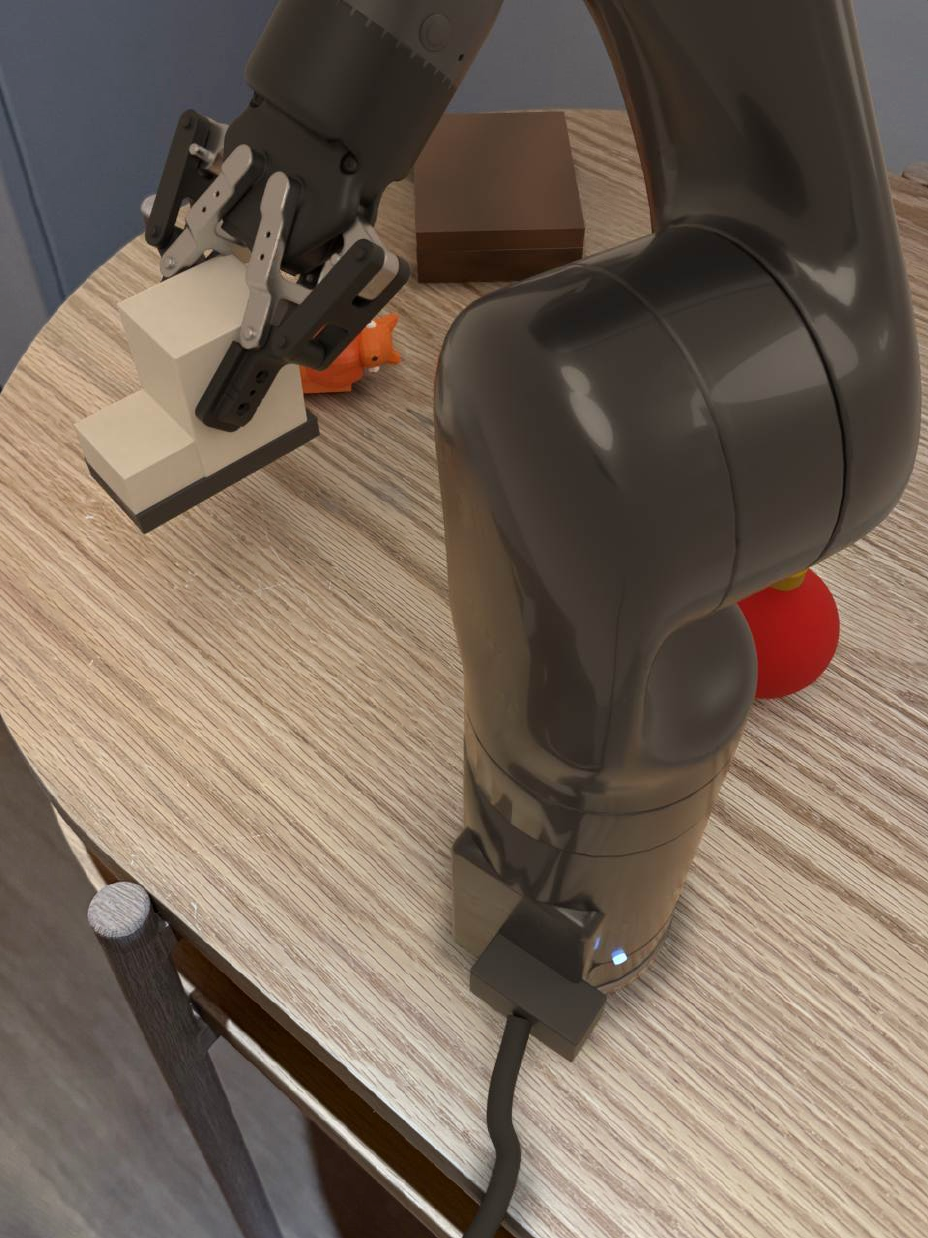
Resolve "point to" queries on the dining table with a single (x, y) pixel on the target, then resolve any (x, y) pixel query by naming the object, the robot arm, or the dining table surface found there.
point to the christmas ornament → (792, 633)
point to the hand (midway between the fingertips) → (181, 391)
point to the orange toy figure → (355, 358)
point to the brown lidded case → (496, 198)
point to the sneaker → (187, 400)
